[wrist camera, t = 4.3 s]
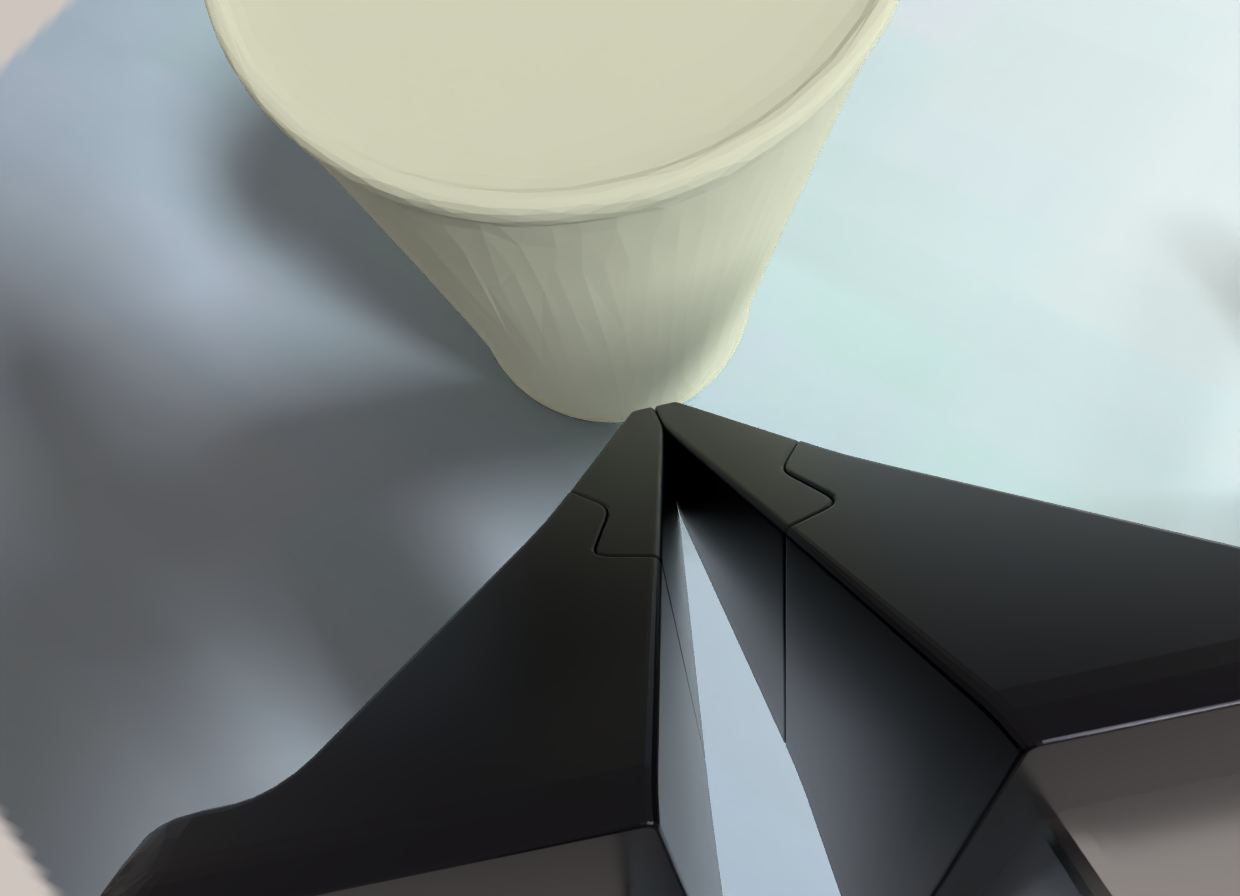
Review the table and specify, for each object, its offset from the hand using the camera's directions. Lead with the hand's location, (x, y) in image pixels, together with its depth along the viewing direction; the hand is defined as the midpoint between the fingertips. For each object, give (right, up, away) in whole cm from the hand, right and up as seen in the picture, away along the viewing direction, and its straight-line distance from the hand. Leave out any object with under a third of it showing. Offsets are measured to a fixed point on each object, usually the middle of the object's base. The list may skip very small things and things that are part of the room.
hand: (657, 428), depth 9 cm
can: (-1, +5, +8) cm, 10 cm away
